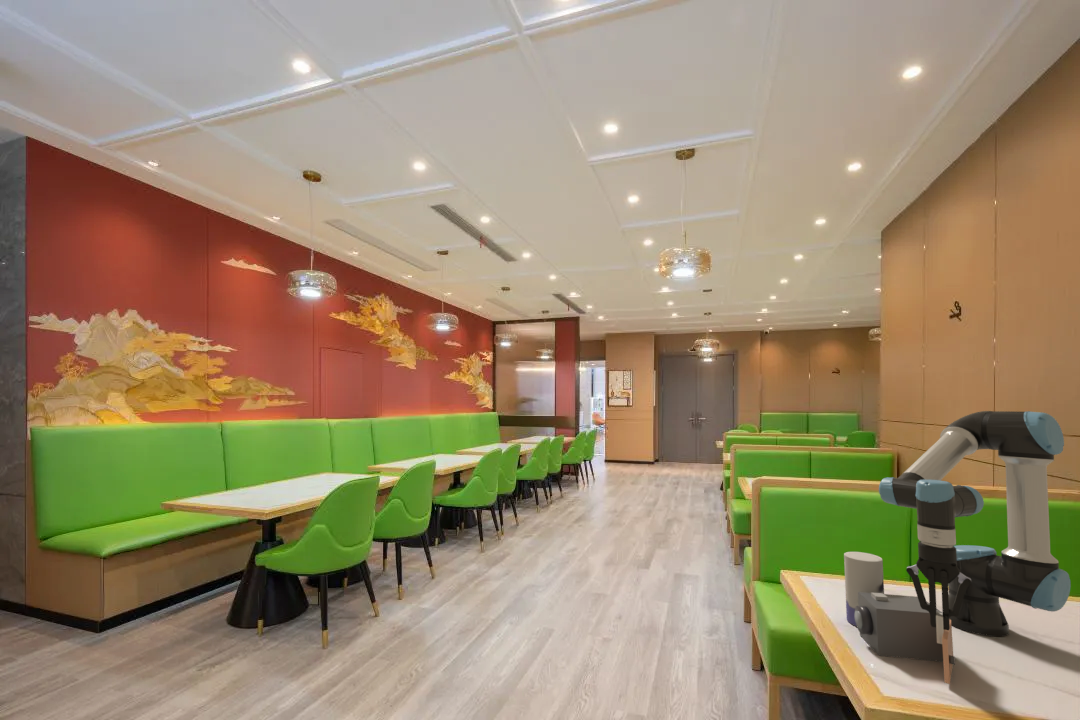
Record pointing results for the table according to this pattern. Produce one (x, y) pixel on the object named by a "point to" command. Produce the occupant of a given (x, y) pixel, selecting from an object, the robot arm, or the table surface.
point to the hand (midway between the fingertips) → (940, 641)
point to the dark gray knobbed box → (897, 626)
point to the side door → (948, 654)
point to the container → (861, 578)
